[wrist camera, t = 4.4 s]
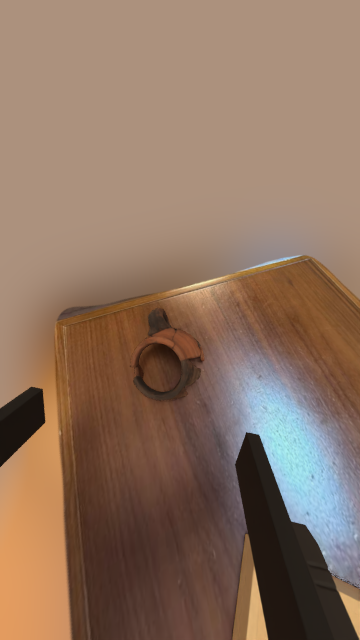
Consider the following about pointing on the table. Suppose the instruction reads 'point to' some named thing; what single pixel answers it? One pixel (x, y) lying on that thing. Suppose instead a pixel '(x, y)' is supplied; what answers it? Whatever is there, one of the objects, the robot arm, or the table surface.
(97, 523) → the table surface
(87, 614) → the table surface
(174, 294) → the table surface
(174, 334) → the pottery mug
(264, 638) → the wooden tray
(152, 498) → the table surface
